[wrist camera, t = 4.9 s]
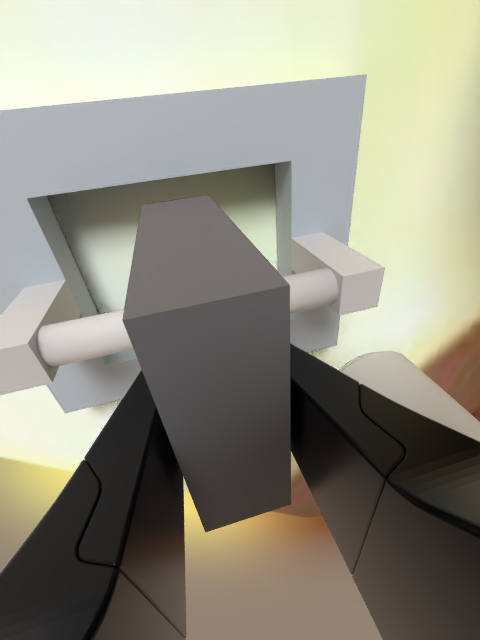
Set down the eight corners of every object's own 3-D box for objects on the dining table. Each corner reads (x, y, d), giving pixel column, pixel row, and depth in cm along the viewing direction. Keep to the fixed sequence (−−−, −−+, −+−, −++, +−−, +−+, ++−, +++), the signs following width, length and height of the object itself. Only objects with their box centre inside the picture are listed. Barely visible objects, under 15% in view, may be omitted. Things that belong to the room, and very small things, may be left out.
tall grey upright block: (208, 194, 11) (289, 285, 4) (230, 340, 14) (290, 504, 8) (141, 205, 10) (122, 320, 4) (181, 352, 14) (205, 532, 8)
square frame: (338, 82, 13) (475, 43, 7) (321, 327, 20) (383, 398, 14) (-83, 125, 10) (-345, 113, 5) (73, 386, 17) (38, 499, 12)
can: (325, 354, 21) (473, 542, 11) (413, 335, 23) (613, 489, 13) (315, 420, 25) (418, 601, 16) (390, 401, 27) (529, 556, 17)
